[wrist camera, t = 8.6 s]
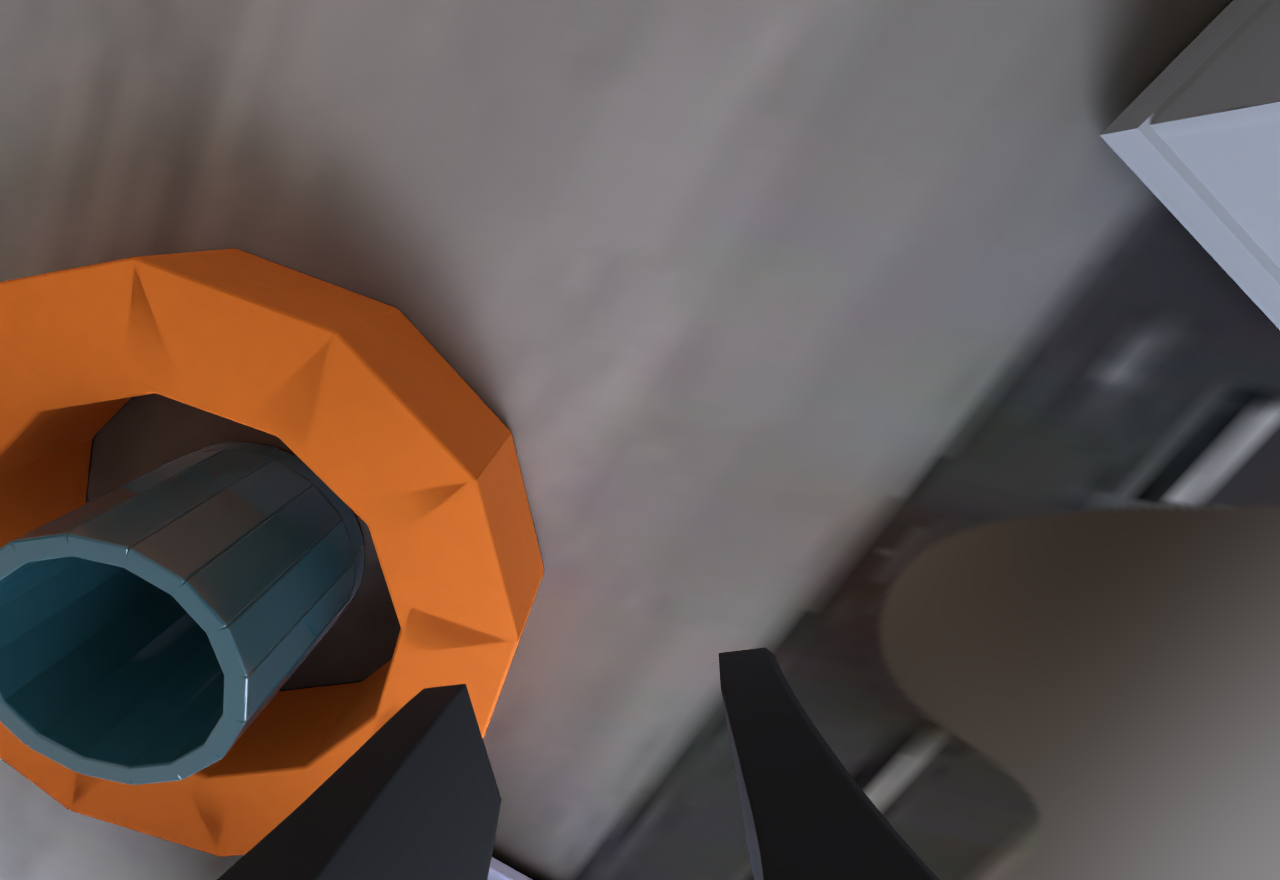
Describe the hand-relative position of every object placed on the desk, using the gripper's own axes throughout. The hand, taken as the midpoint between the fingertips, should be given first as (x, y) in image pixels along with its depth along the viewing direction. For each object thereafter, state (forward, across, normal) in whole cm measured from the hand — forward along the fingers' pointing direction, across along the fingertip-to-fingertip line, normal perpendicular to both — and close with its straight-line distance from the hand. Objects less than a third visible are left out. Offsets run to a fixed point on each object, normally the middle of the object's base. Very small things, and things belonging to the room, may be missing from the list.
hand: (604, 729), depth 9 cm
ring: (+7, +9, 0) cm, 12 cm away
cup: (+7, +9, 0) cm, 12 cm away
